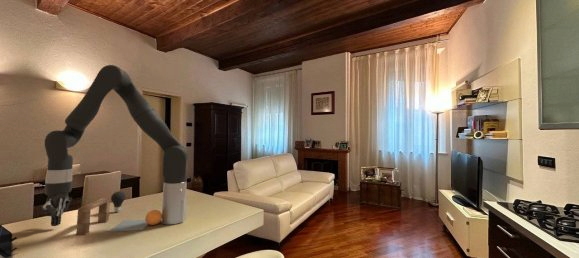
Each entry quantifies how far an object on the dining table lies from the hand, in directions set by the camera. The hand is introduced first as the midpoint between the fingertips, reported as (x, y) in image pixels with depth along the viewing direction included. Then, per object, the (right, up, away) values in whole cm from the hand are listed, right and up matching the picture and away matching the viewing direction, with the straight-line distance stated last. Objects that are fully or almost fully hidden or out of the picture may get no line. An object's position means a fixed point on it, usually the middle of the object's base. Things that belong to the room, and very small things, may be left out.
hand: (55, 225), depth 89 cm
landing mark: (+26, -2, +5) cm, 27 cm away
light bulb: (+8, -3, +22) cm, 23 cm away
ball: (+34, 0, +7) cm, 35 cm away
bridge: (+13, -2, +3) cm, 13 cm away
